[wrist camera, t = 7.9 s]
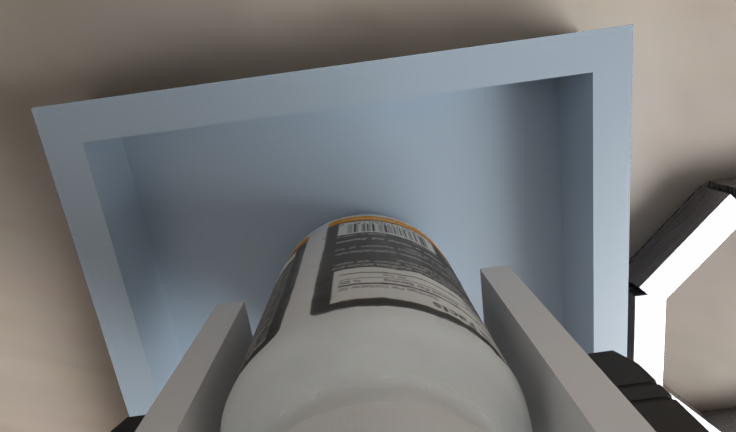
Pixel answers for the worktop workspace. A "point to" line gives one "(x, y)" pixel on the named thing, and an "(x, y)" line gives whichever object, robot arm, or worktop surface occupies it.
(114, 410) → the worktop surface
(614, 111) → the tray
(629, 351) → the ring
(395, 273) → the pill bottle
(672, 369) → the worktop surface
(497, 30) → the worktop surface
